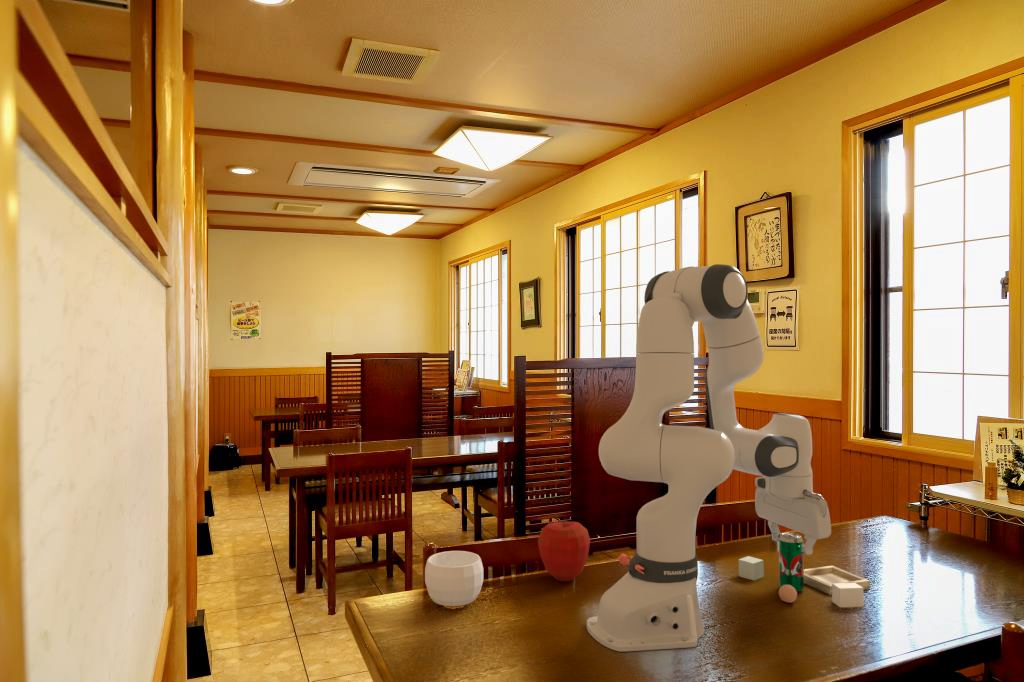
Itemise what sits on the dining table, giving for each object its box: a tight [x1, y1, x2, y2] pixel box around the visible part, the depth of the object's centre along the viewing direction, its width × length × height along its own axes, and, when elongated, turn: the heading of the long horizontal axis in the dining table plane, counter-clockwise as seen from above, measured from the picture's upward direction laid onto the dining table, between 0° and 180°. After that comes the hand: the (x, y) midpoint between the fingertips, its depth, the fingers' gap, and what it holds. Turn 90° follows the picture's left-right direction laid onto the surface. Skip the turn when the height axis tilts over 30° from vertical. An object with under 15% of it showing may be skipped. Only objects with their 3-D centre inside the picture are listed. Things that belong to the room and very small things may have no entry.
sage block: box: [738, 555, 765, 581], centre depth 161 cm, size 4×4×4 cm
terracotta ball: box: [778, 585, 798, 604], centre depth 145 cm, size 4×4×4 cm
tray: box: [804, 565, 871, 596], centre depth 156 cm, size 11×11×2 cm
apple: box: [537, 518, 591, 582], centre depth 160 cm, size 12×12×14 cm
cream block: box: [831, 583, 864, 608], centre depth 143 cm, size 5×3×4 cm, turn 93°
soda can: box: [778, 532, 805, 593], centre depth 152 cm, size 5×5×12 cm
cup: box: [424, 550, 484, 607], centre depth 145 cm, size 12×12×10 cm
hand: (791, 547), depth 153 cm, fingers open, 8 cm apart
